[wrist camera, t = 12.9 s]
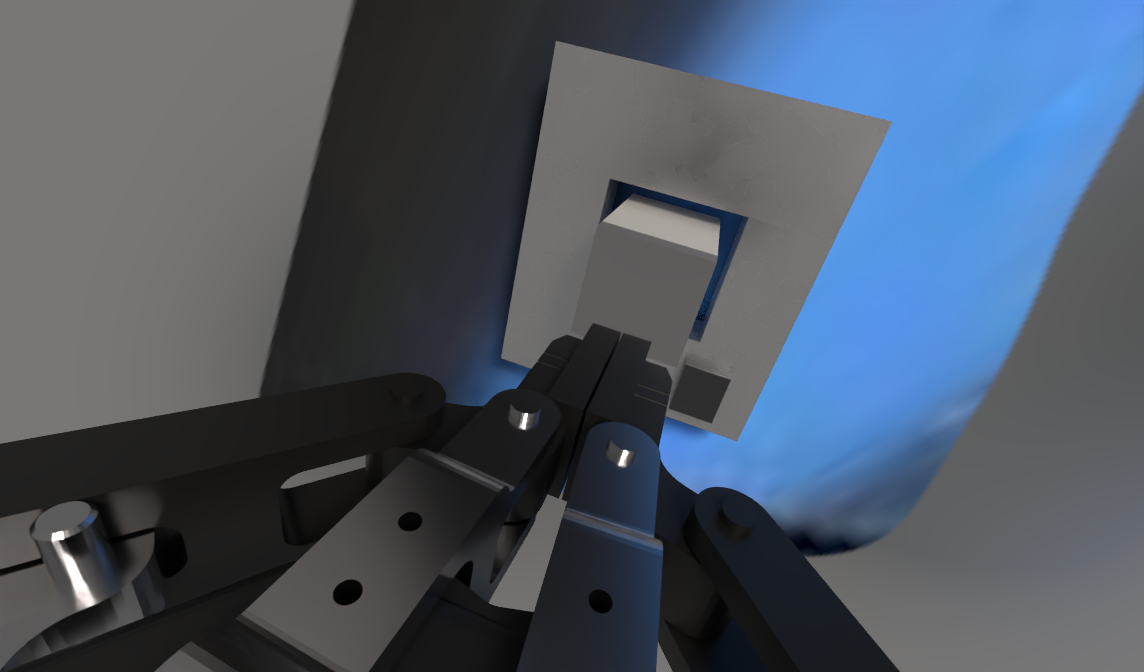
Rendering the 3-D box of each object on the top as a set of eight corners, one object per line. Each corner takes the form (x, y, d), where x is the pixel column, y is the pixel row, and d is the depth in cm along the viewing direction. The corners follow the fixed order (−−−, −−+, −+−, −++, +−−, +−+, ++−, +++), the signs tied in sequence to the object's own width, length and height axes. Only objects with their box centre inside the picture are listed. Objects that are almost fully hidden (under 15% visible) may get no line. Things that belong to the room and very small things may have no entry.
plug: (633, 193, 22) (597, 226, 16) (720, 218, 22) (717, 262, 15) (610, 274, 24) (570, 331, 18) (690, 300, 23) (676, 367, 17)
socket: (574, 48, 20) (550, 38, 18) (873, 119, 19) (898, 122, 16) (519, 337, 27) (495, 364, 24) (736, 412, 25) (737, 450, 22)
